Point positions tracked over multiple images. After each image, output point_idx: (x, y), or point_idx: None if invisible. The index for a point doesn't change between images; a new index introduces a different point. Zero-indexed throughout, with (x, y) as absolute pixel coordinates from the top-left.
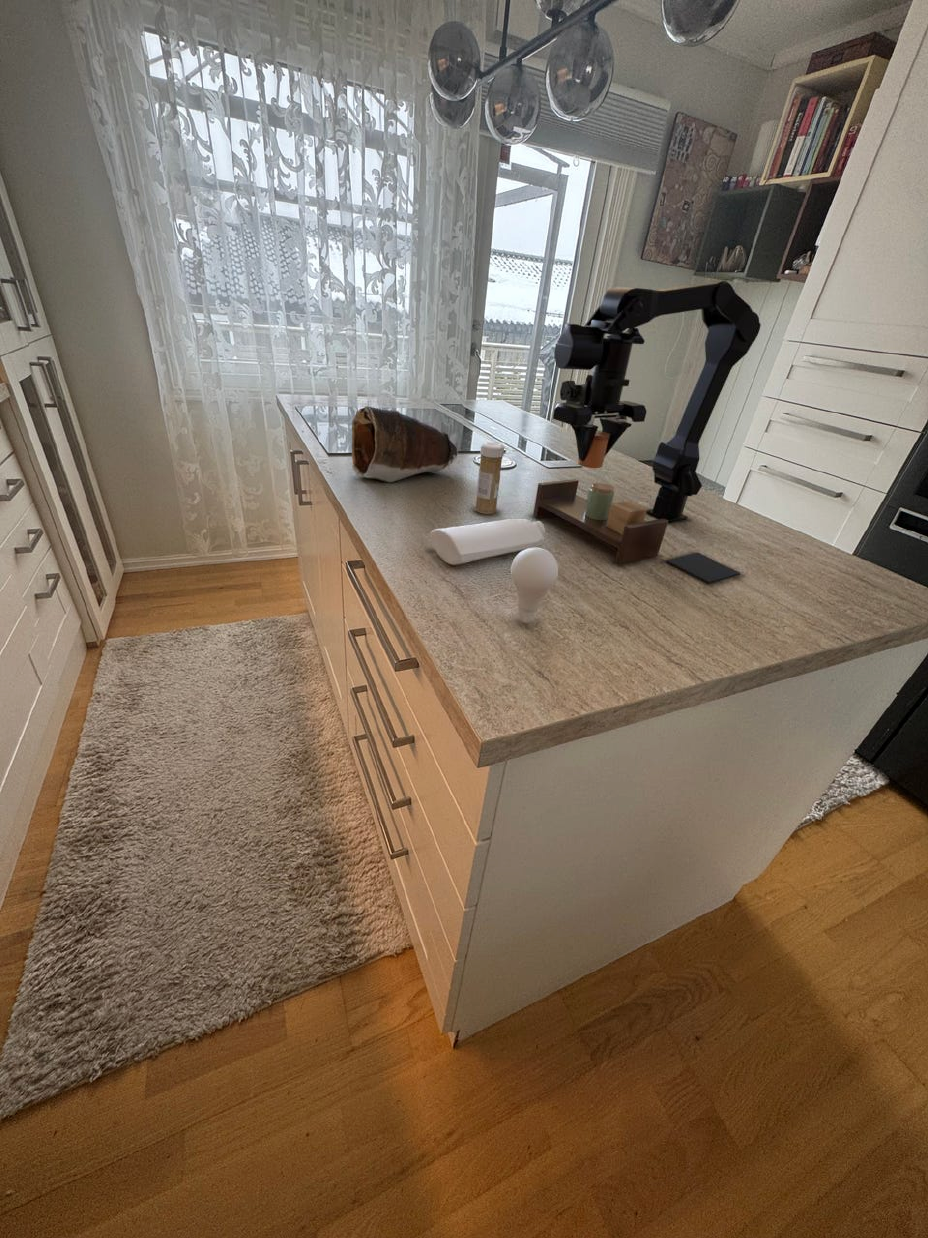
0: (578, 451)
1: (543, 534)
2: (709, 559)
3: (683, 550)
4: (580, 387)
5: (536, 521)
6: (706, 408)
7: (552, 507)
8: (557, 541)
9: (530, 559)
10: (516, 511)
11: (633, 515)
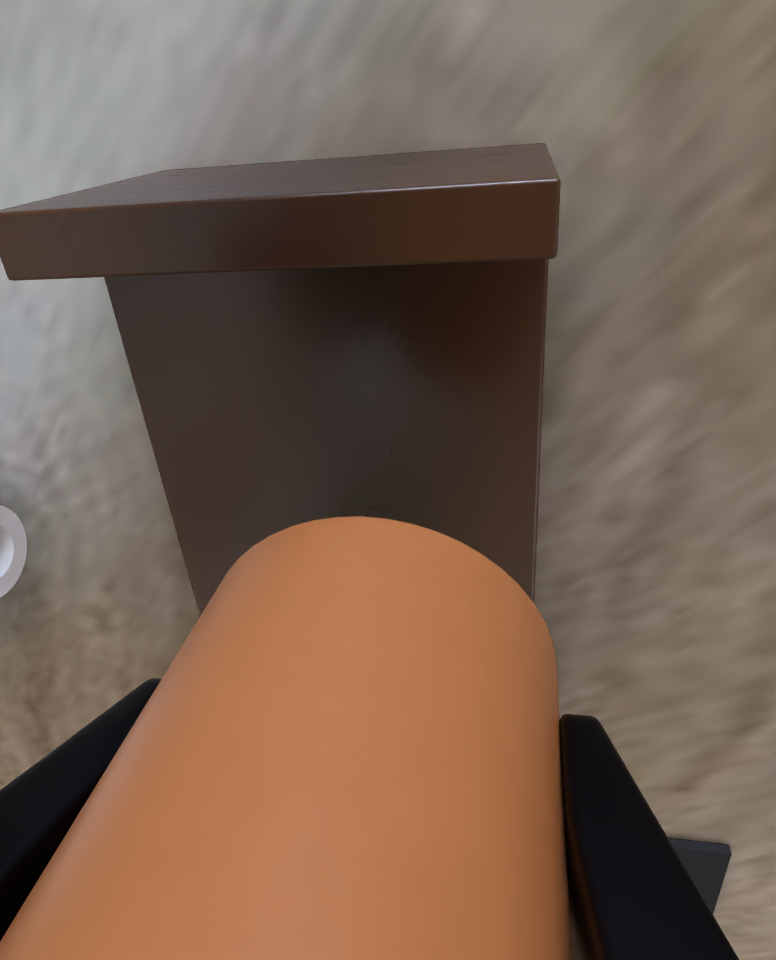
0: (49, 767)
1: (8, 586)
2: (704, 893)
3: (712, 806)
4: None
5: None
6: None
7: (145, 410)
8: (152, 534)
9: None
10: (69, 16)
11: None
